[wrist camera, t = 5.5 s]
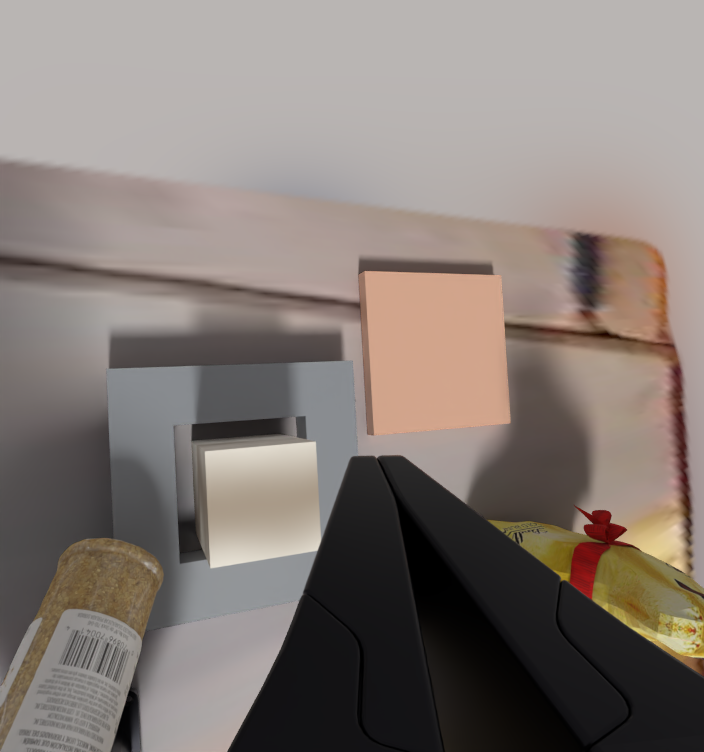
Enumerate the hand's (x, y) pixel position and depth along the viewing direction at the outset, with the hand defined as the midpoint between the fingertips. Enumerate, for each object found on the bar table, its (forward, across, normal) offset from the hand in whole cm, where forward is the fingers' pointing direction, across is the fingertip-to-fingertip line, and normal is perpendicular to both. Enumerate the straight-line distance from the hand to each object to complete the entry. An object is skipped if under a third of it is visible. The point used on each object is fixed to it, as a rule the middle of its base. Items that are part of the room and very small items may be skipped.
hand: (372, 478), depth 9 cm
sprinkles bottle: (+13, +8, +14) cm, 20 cm away
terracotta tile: (+24, -9, +8) cm, 27 cm away
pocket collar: (+18, +3, +14) cm, 23 cm away
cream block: (+18, +3, +14) cm, 23 cm away
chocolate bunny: (+20, -16, +20) cm, 33 cm away
